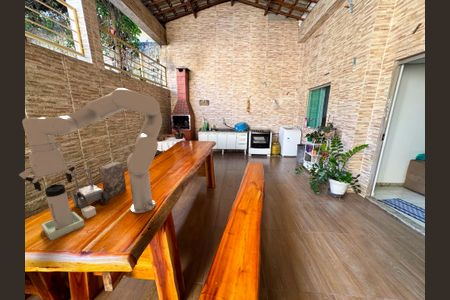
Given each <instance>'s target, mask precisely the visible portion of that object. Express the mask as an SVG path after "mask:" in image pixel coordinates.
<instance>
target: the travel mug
mask: <svg viewBox="0 0 450 300" xmlns="http://www.w3.org/2000/svg"><path fill="white" fill-rule="evenodd" d="M44 193H45V195H46V200H47V204H48V208H49V212H50V215H51V218H52V219H51V220H53V223H54V226H55V230H59V229H61V228H64V227H66V226H68V225H71V224H73V223H74V222H73V218H72V214H71V213H72V211H71V206H70V202H69V198H68V195H67V194H68V193H67V190H66V187H65V185H64V184H62V183H61V184H60V183H59V184H56V183H55V184H50V186H48V187H46V188H45V189H44Z"/></svg>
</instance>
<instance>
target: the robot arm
mask: <svg viewBox="0 0 450 300" xmlns="http://www.w3.org/2000/svg"><path fill="white" fill-rule="evenodd" d="M160 109H161V105H160V102H159V101H158V99H156V98H154V97H152V96H149V95H146V94H142V93H140V92H137V91H134V90H130V89H128V88H127V89H126V88H123V87H120V88H115V89H114V90H113V91H112V92H111V93H108V94H106V95H104V96H101V97H99V98H97V99H96V98H95V99H94V100H91V101H89V102H88V103H87V104H86V105H84V106H83V107H82V108H80V109H78V110H76V111H73V112H70V113H68V114H66V115H65V114H64V115H61V116H60V115H59V116H52V117H28V118H27V117H26V118H23V119H22V127H23V129H24V132H25V136H26V138H27V143H28V145H29V148H30V152H29V153H28V160H29V165H30V167H29V168H27V169H26V170H24V171H22V172H21V173H19V175H18V176H20V177H21V178H22V179H23V180H25V181H28V182H30V183H32V185H33V187H34V189H35V190H37V191H38V192H41V191H42V187H41V184H40V182H39V179H40V178H41V177H45V176H46V177H47V176H50V175H55V174H58V173H62V172H65V178H66V181H67V182H68V183H72V180H73V175H72V173H73V172H74V170H75V168H76V166H77V162H76V161H75V162H74V161H69V160H66V159H65V158H64V155H63V153H62V151H61V149H60V148H59V147H61V146H62V144H61V142H56V138H55V135H56V136H57V135H58V136H62V135H68V134H71V133H73V132H75V131H77V130H80V129H81V128H84V127H86V126H89V125H91V124H93V123H96V122H99V121H102V120H104V119H106V118H109V117H111V116H113V115H115V114H118V113H119V112H121V111H125V110H129V111H132V112H136V113H140V114H143V115H144V122H143V124H142V127H141V130H140V131H139V134H138V135H137V138H136V139H135V146H134V149H133V151H132V152H131V153H130V154H129V155H128V156H127V160H126V166H127V171H128V176H129V185H130V192H131V198H132V205H131V206H130V209H129V210H130V211H131V212H132V213H134V214H142V213H143V214H144V213H147V212H149V211H151V210H153V209H154V207H155V206H156V201H155V200H154V199H153V197H152V189H151V182H150V180H151V178H150V171H149V169H150V167H151V165H152V163H153V160H154V158H155V155H156V154H157V151H158V147H159V143H158V140H157V139H158V136H159V134H160V131H161V129H162V124H163V116H162V113H161V112H162V111H161V110H160ZM67 165H70V167H69V168H68V166H67ZM31 172H32V175H33V176H32V177H30V176H27V175H28V174H30V173H31Z"/></svg>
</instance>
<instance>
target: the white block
mask: <svg viewBox="0 0 450 300" xmlns="http://www.w3.org/2000/svg"><path fill="white" fill-rule="evenodd" d="M80 211H81V213H82V214H81V215H82V216H83V217H84V218H86V219H89V218H92V217H94V216H96V215H97V211H96V207H95V206H92V205H88V206H87V207H85V208H82V209H81V210H80Z"/></svg>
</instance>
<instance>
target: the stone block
mask: <svg viewBox="0 0 450 300" xmlns="http://www.w3.org/2000/svg"><path fill="white" fill-rule="evenodd" d="M124 166H125V165H124V163H123V162H118V161H115V162H111V163H108V164H105V165H102V166H100V167H98V173H99V176H100V180H101V182H102V183H101V184H102V190H106V191H107V193H108V195H109V199H111V198H112V199H113V198H114V197H116V196H117V195H119V194H121V193H123V192H124V191H126V190H127V184H126V176H125V168H124Z"/></svg>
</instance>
